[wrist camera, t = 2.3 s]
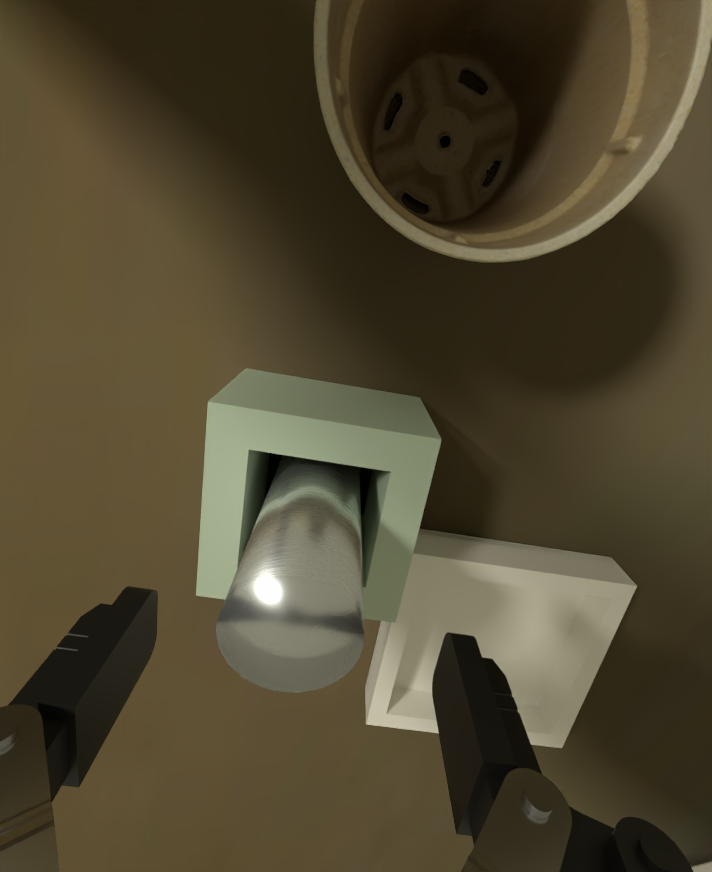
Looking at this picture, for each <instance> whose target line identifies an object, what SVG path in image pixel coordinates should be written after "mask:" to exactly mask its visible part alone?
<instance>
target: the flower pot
mask: <svg viewBox="0 0 712 872" xmlns="http://www.w3.org/2000/svg"><path fill="white" fill-rule="evenodd" d="M711 41H712V0H316V7H315V16H314V66H315V75H316V83H317V90H318V95H319V101H320V106H321V111H322V115H323V118H324V121H325V125H326V128H327V131H328V134H329V136H330V139H331V142H332V144H333V147H334V149H335V151H336V154H337V156H338V158H339V160H340V162H341V164H342V166H343V168H344V169H345V171H346V173H347V175H348V177H349V178H350V180H351V182H352V183H353V185H354V186H355V188H356V189H357V190H358V192H359V193H360V194H361V196H362V197H363V198H364V200H365V201H366V202H367V203H368V204H369V205H370V206H371V208H372V209H373V210H374V211H375V212H376V213H377V214H378V215H379V216H380V217H381V218H382V219H383V220H384V221H385V222H386V223H387V224H389V225H390V226H391V227H393V228H394V229H395V230H396V231H398V232H399V233H401V234H402V235H404V236H405V237H406V238H408V239H410V240H411V241H413V242H415V243H417V244H419V245H421V246H423V247H425V248H427V249H429V250H432V251H434V252H437V253H440V254H443V255H446V256H450V257H453V258H457V259H462V260H468V261H474V262H491V263H494V262H511V261H520V260H527V259H531V258H534V257H538V256H541V255H544V254H547V253H550V252H553V251H555V250H558V249H561V248H563V247H566V246H568V245H570V244H572V243H574V242H576V241H578V240H580V239H581V238H583V237H586V236H587V235H589V234H590V233H592V232H593V231H595V230H596V229H598V228H599V227H600V226H602V225H603V224H605V223H606V222H607V221H608V220H610V219H611V218H613V217H614V216H615V215H616V214H617V213H618V212H619V211H620V210H622V209H623V208H624V207H625V206H626V205H627V204H628V203H629V202H630V201H632V199H633V198H634V197H635V196H636V195H637V194H638V193H639V192H640V191H641V190H642V188H643V187H644V186H645V185H646V183H647V182H648V181H649V180H650V179H651V178H652V176H653V175H654V174H655V173H656V172H657V170H658V169H659V167H660V165H661V164H662V162H663V161H664V159H665V158H666V157H667V155H668V153H669V152H670V151H671V149H672V148H673V146H674V143H675V142H676V140H677V137H678V135H679V133H680V131H681V130H682V129H683V127H684V124H685V121H686V119H687V117H688V115H689V113H690V111H691V109H692V106H693V103H694V101H695V98H696V96H697V93H698V90H699V88H700V85H701V82H702V79H703V76H704V72H705V68H706V64H707V60H708V57H709V54H710V51H711V48H710V44H711ZM466 70H468V71H471V72H473V73H474V74H475V75H476V76H477V77H478V78H479V80H480V81H483V82H484V83H485V84H486V86H487V89H488V90H487V91H486V92H485V94H483V95H480V94H478V93H477V92H475V91H474V90H472V89H471V88H469V87H468V86H467V85H464V84H463V83H459V78H460V74H461V72H462V71H466ZM396 94H399V95H401V96H402V105H401V107H400V109H399V111H398V112H397V113H396V115H395V118H394V121H393V123H392V126H391V128H390V129H389V130H385V129H384V126H385V118H386V114H387V111H388V108H389V106H390V103H391V100H392V98H393V97H394V96H395V95H396ZM446 135H447V136H449V138H450V145H449V146H448V147H446V148H442V147H441V145H440V139H441V137H443V136H446ZM497 160H498V161H500V162H501V163H500V165H499V168H498V170H497V172H496V174H495V176H494V178H493V180H492V182H491V183H490V184H489V185H488V186H485V187H484V186H483V184H482V183H483V182H484V180H485V178H486V176H487V173H486V170H487V169H488V171H489V169H490V168H491V167H492V165H493V164H494V161H497ZM405 193H406V194H408V195H409V196H411V197H412V198H414V199H416V200H418V201H420V202H422V203H424V204H426V205H428V206H429V210H428V212H427V213H426V214H420V213H416V212H414V211H412V210H411V209H408V208H407V207H406V206H405V205H404V203H403V202H402V195H404V194H405Z"/></svg>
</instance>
